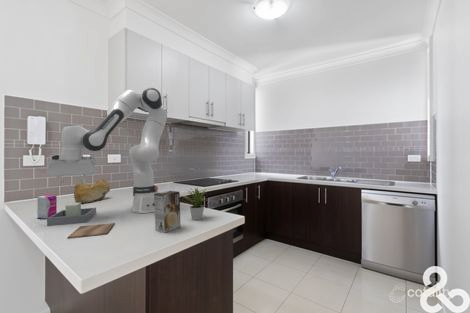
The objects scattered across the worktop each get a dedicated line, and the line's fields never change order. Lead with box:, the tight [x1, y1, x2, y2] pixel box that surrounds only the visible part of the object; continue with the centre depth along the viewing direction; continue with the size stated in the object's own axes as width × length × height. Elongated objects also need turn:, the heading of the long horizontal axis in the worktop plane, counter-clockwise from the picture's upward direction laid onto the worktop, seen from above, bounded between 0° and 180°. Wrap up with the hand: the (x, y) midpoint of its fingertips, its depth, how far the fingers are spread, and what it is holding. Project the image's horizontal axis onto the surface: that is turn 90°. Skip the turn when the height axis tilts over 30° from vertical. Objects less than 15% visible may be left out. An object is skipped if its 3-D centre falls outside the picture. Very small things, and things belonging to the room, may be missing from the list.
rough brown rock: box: [73, 178, 111, 204], centre depth 161 cm, size 23×17×15 cm
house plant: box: [181, 187, 209, 221], centre depth 114 cm, size 14×14×16 cm
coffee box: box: [154, 190, 181, 234], centre depth 98 cm, size 9×6×16 cm
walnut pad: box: [67, 222, 116, 239], centre depth 97 cm, size 14×14×1 cm
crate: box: [46, 207, 97, 227], centre depth 114 cm, size 16×16×4 cm
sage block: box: [65, 202, 82, 216], centre depth 114 cm, size 5×5×8 cm
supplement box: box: [36, 194, 58, 220], centre depth 118 cm, size 6×6×12 cm
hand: (72, 183), depth 114 cm, fingers open, 8 cm apart
